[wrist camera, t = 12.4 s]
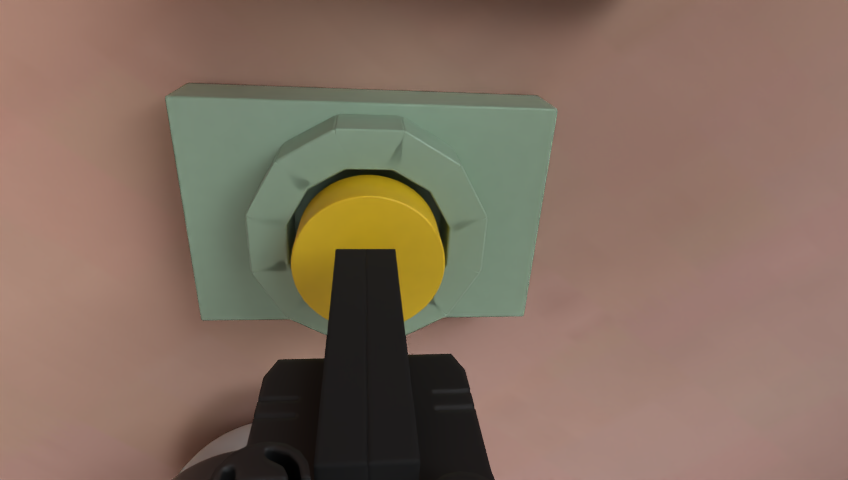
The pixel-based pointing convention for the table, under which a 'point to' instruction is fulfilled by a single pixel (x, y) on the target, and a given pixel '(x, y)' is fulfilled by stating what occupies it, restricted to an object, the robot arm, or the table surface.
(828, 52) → the table surface
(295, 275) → the button
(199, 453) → the pump dispenser
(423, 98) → the button box
